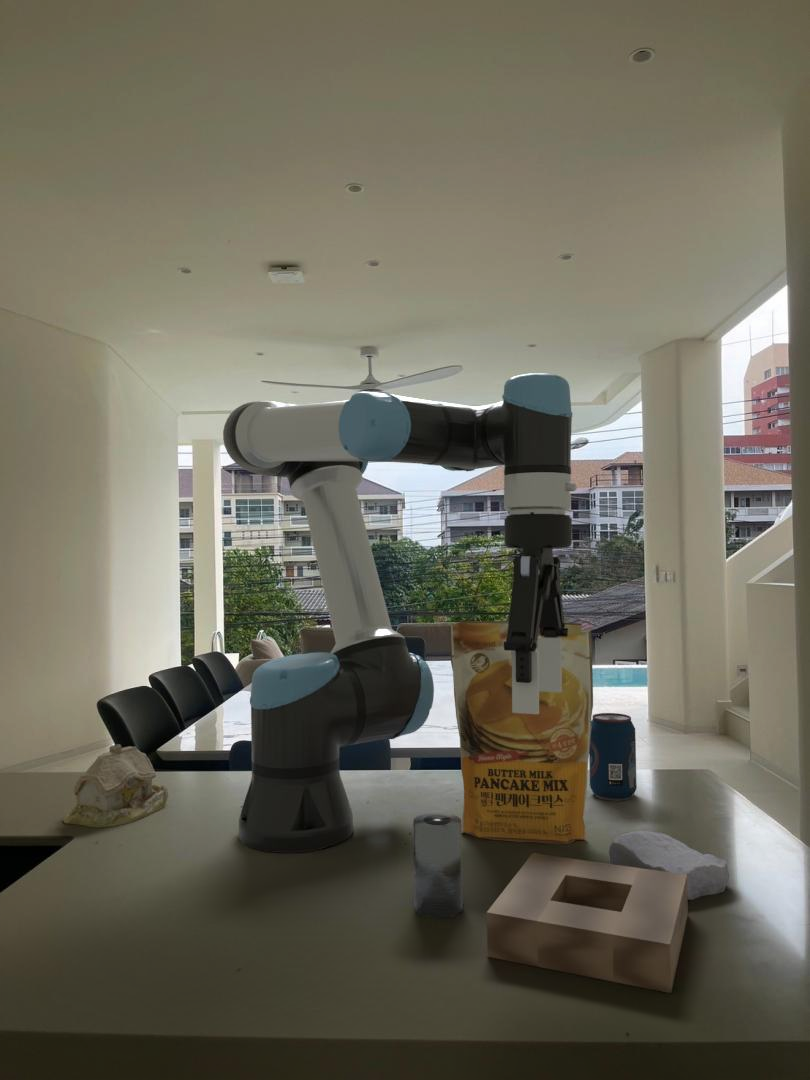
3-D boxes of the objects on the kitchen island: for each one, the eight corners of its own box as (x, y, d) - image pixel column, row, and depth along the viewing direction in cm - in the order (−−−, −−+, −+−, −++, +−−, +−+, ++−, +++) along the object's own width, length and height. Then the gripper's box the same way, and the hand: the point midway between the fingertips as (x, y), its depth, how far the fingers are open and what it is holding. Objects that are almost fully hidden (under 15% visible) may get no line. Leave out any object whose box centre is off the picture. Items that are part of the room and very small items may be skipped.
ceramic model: (102, 834, 108) (102, 759, 108) (49, 821, 114) (49, 750, 114) (180, 806, 120) (180, 739, 121) (129, 795, 126) (129, 731, 126)
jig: (487, 956, 73) (486, 912, 73) (533, 890, 88) (532, 853, 88) (671, 993, 67) (670, 944, 67) (687, 914, 81) (687, 874, 81)
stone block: (665, 869, 98) (599, 866, 94) (671, 830, 98) (606, 825, 94) (741, 912, 87) (669, 910, 83) (747, 867, 87) (677, 863, 84)
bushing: (406, 913, 82) (405, 823, 83) (425, 894, 87) (424, 809, 87) (452, 921, 80) (451, 829, 81) (469, 901, 85) (467, 814, 85)
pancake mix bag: (454, 822, 111) (452, 619, 112) (596, 829, 107) (592, 619, 108) (447, 838, 104) (444, 623, 105) (597, 847, 100) (593, 623, 101)
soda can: (588, 788, 126) (586, 711, 127) (633, 789, 125) (631, 712, 126) (592, 801, 119) (590, 720, 120) (640, 802, 118) (638, 721, 119)
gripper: (550, 507, 78) (551, 726, 77) (587, 517, 101) (588, 685, 101) (475, 508, 80) (476, 721, 80) (528, 518, 104) (529, 682, 103)
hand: (538, 701), depth 90 cm, fingers open, 13 cm apart
